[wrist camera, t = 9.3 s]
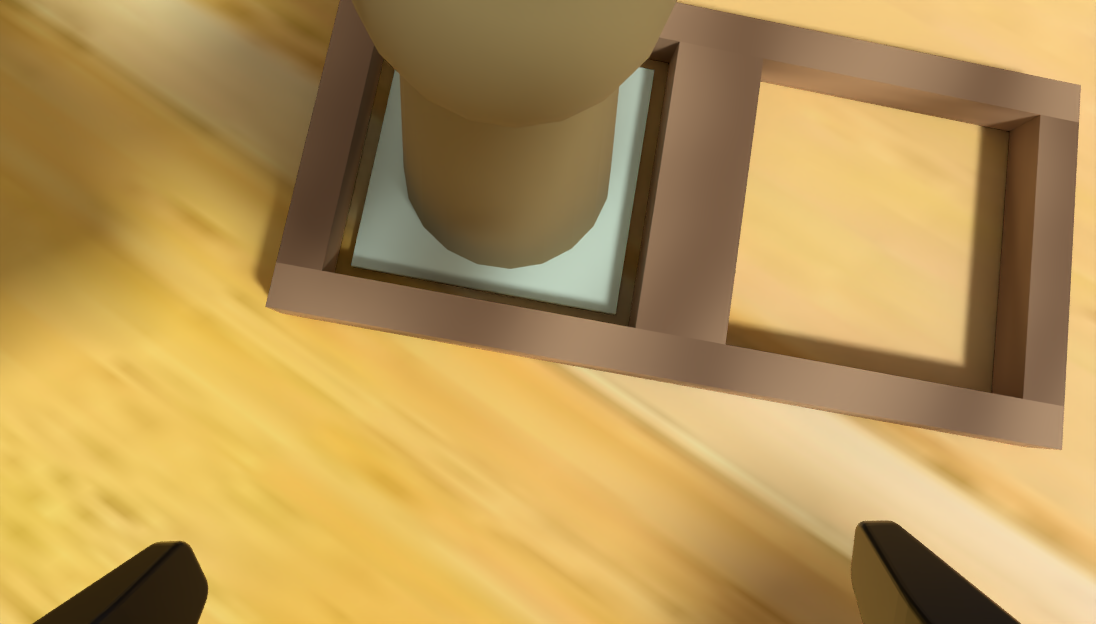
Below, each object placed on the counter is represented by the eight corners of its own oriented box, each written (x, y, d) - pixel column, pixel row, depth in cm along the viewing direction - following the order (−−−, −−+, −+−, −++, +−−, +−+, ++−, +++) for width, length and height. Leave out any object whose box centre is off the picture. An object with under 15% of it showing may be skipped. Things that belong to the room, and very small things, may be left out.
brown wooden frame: (280, 313, 18) (265, 306, 17) (364, -36, 20) (355, -64, 19) (1027, 447, 19) (1061, 449, 18) (1048, 103, 21) (1081, 85, 20)
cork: (650, 146, 20) (833, -176, 9) (534, 310, 19) (579, 176, 8) (484, 32, 20) (464, -422, 9) (361, 189, 19) (171, -107, 8)
